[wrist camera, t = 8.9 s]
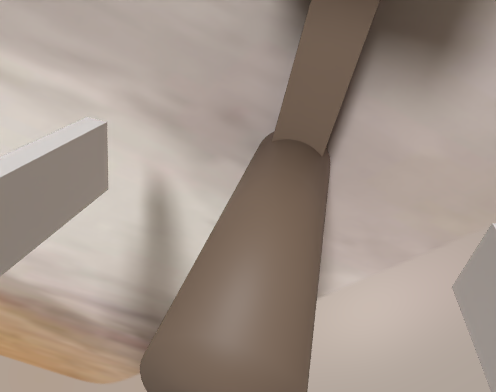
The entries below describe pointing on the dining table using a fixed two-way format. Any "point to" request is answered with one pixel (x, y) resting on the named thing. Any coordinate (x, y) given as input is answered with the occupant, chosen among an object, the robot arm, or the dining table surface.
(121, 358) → the dining table surface
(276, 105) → the dining table surface
